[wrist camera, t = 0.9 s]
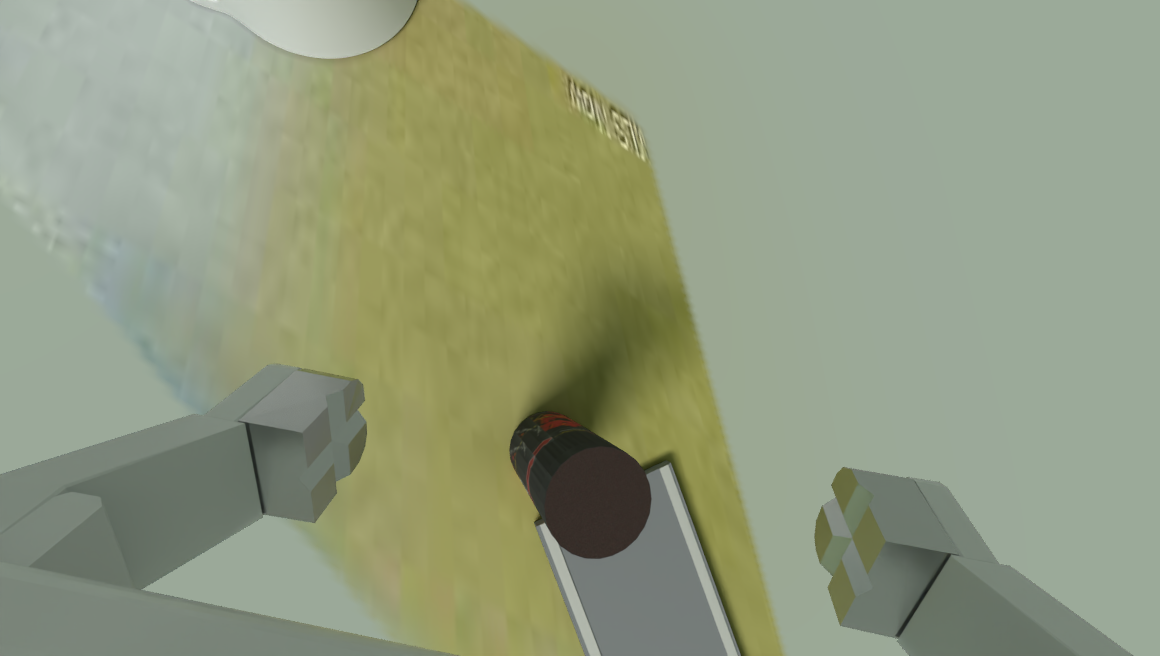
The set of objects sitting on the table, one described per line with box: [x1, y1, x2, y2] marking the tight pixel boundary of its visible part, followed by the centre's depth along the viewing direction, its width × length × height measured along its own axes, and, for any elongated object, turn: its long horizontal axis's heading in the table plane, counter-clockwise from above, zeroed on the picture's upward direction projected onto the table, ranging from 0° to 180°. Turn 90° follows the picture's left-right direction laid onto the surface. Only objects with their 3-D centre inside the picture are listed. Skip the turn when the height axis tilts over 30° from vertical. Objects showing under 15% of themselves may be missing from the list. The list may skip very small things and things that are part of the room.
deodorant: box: [510, 411, 652, 559], centre depth 36 cm, size 6×6×15 cm
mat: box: [534, 461, 741, 656], centre depth 45 cm, size 22×12×1 cm, turn 21°
